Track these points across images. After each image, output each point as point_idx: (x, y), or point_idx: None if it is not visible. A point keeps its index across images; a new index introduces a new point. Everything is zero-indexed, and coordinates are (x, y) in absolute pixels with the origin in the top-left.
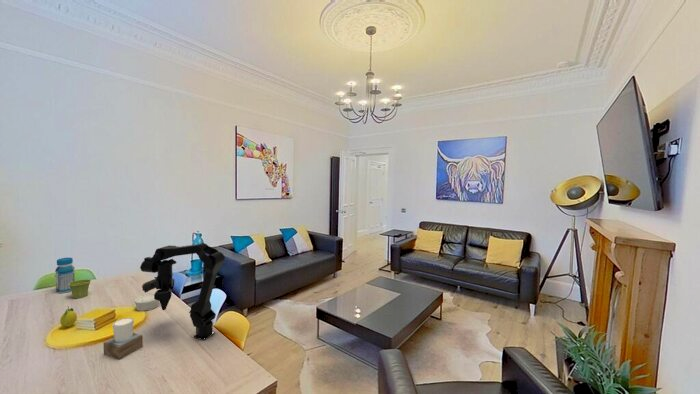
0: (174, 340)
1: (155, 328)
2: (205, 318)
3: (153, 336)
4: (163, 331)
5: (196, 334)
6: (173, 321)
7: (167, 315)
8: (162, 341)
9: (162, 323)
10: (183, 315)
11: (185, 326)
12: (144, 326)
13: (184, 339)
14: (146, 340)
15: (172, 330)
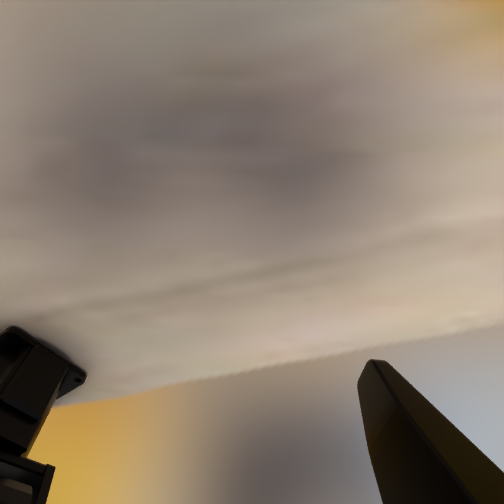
0: (10, 229)
1: (303, 109)
2: (2, 475)
3: (146, 86)
4: (203, 168)
5: (26, 346)
6: (339, 242)
7: (489, 211)
8: (20, 152)
9: (364, 168)
10: (389, 302)
11: (202, 300)
12: (425, 6)
13: (5, 282)
14: (89, 18)
15: (184, 227)
